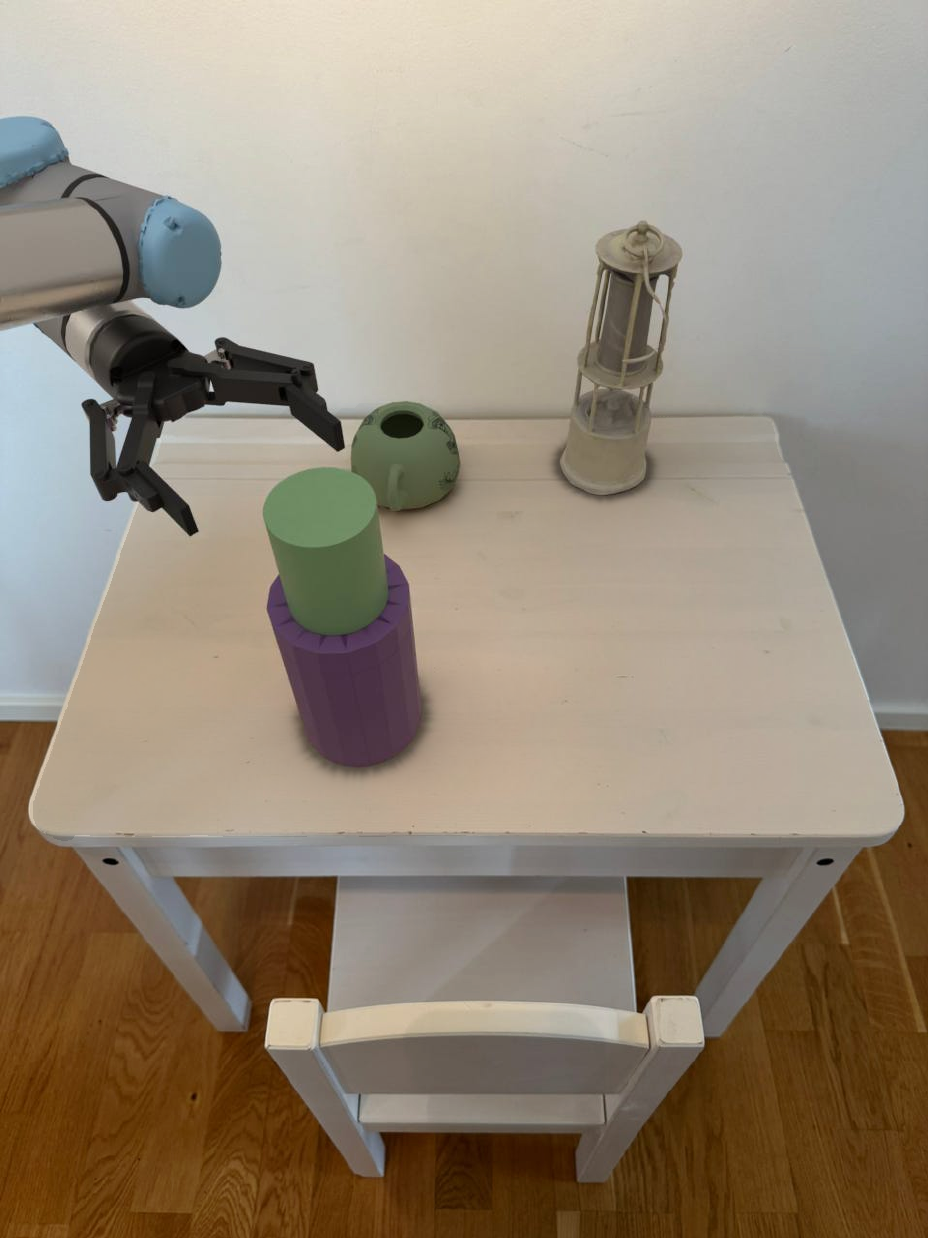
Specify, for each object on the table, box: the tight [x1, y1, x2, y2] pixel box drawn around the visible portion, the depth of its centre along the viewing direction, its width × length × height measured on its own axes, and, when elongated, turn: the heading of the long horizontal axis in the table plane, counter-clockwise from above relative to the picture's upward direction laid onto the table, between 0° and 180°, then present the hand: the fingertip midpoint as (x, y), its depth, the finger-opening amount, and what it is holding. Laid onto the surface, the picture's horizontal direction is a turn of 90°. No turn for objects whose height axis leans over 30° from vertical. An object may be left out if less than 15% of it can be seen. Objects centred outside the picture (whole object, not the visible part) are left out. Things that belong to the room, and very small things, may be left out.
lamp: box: [559, 220, 683, 496], centre depth 91 cm, size 10×13×30 cm
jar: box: [265, 553, 422, 768], centre depth 75 cm, size 11×11×18 cm
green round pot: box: [350, 400, 461, 512], centre depth 98 cm, size 16×13×9 cm
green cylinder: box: [262, 466, 389, 636], centre depth 64 cm, size 8×8×10 cm
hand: (268, 477), depth 65 cm, fingers open, 13 cm apart
